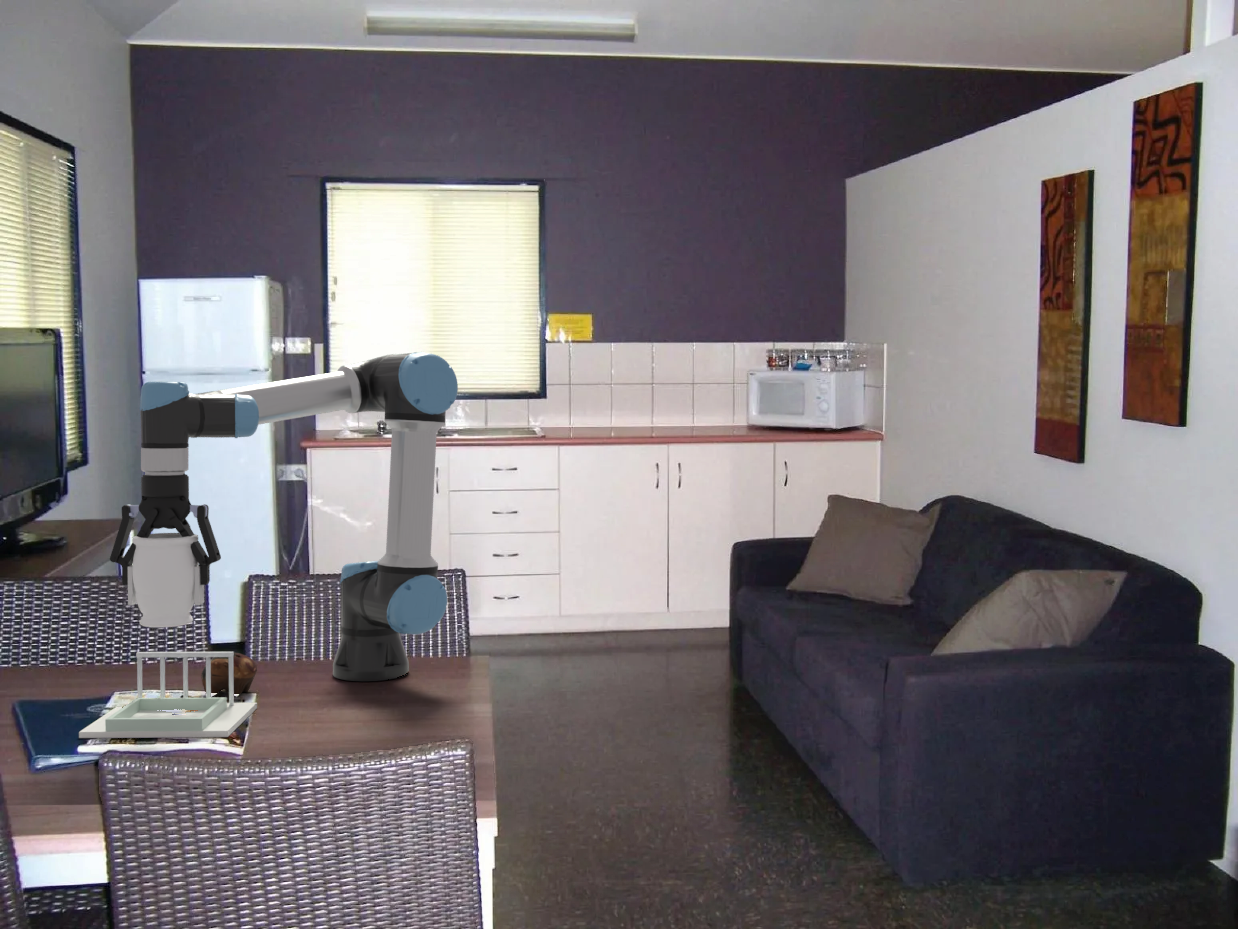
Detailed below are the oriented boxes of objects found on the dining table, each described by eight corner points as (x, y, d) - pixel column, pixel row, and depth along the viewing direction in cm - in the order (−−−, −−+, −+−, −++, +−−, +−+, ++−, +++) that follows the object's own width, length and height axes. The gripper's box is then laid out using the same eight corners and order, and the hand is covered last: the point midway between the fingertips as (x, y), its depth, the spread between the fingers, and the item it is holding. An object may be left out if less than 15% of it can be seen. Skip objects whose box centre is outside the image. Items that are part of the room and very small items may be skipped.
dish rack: (257, 708, 218) (256, 649, 218) (227, 737, 199) (227, 673, 199) (121, 709, 217) (120, 650, 217) (79, 738, 198) (77, 673, 198)
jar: (159, 631, 198) (158, 540, 197) (119, 625, 203) (118, 536, 203) (212, 622, 207) (211, 534, 206) (172, 616, 212) (172, 531, 212)
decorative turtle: (192, 704, 221) (190, 660, 221) (215, 690, 236) (213, 649, 236) (246, 700, 222) (244, 656, 222) (265, 687, 237) (263, 646, 237)
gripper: (239, 472, 208) (240, 600, 209) (104, 471, 207) (105, 600, 208) (227, 474, 201) (228, 607, 202) (87, 474, 200) (88, 607, 201)
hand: (166, 604), depth 205 cm, fingers closed on jar, 10 cm apart
